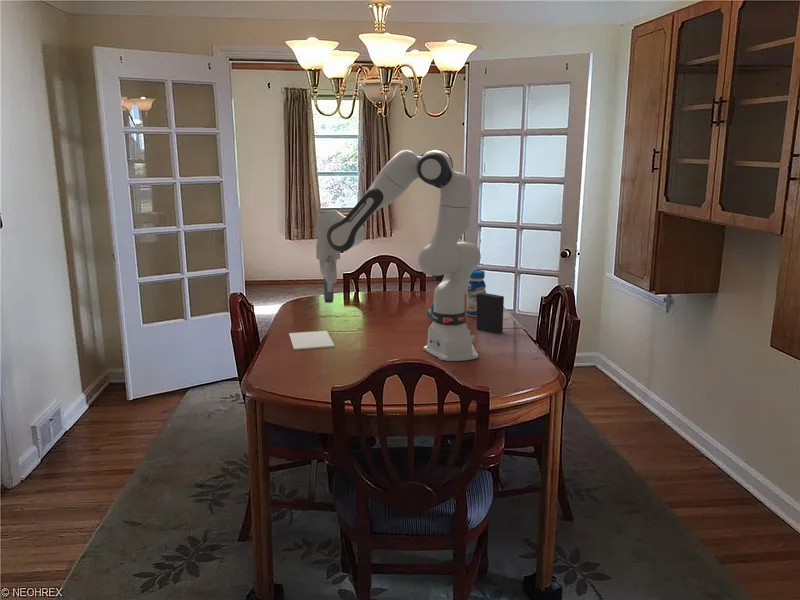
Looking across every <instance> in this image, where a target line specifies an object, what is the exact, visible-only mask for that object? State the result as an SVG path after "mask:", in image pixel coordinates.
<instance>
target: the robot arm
mask: <svg viewBox="0 0 800 600" xmlns="http://www.w3.org/2000/svg"><path fill="white" fill-rule="evenodd" d="M416 179H421V181H423V182H424V183H426V184H428V185H430V186H433V187H435V188H437V189H440V190H439V191H440V199H439V205H438V206H439V208H438V215H437V221H436V222H437V223H436V227H435V230H434V232H433V234H432V236H431V238H430V240H429V241H428V243H427V244H426V246H424V247H423V248H422V249H421V251H420V252H419V255H418V259H417V260H418V266H419V269H420V270H421V272H422V273H423V274H424V275H429V276H437V277H438V276H443V278H442V280H441V282H440V283H439V284H438V285H437V286H436V287H435V289H434V291H433V295H434V296H433V303H434V310H433V314H432V320H433V321H432V320H431V321H432V323H431V324H430V325H429V327H428V331H427V333H428V334H427V344H426V345H424V346H423V351H425V352H427V353H428V354H430V355H432V356H434V357H435V356H436V357H435V358H437V357H438V358H437V359H439V360H441V361H444V360H445V361H446V362H459V361H469V360H476V359H478V358H480V357H479V353H478V351H477V350H476V348H475V346H474V345H473V343H475V341H476V337H475V335H471V333H472V331H471V329H469V327H468V324H467V323H466V322H467V313H466V310H465V301H466V300H465V299H466V291H467V285H468V282H469V281H470V276H471V274H472V272H473V271H474V270H476V269H477V267H478V266H479V265H480V262H481V258H482V257H481V255H482V254H481V251H480V248H479V247H478V245H476V243H473V242H467V241H459V240H460V239H461V237H462V236H463V235H464V234H465V233H466V232H467V231H468V229H469V227H470V222H471V221H470V220H471V212H472V210H471V209H472V201H473V199H472V198H473V190H472V186H473V185H472V180H471V178H470V177H469V175H467V174H466V173H463V172H460V171H459V172H457V171H455V170H454V162H453V159H452V157H451V155H450V154H449V153H447V152H446V151H444V150H443V149H433V150H429V151H427V152H426V153H423V154H421V155H417V154H416V153H414V151H412V150H408V149H402V150H399V151H398V152H397V153H396V154H395V155H394V156H393V157H391V159H390V160H389V161H387V163H386V164H385V165H384V167H382V169H381V170H380V171H379V172H378V174H377V175H376V177H375V179H374V180H373V181H372V183H371V184H370V186H369V188H368V189H367V191H366V192H365V193H364V194H363V197H361V199H360V200H358V202H357V203H356V204H355V206H354V207H353V208H352V209H351V210H350V211H349V213H348V214H346V216H345V215H343V214H342V213H341V212H340V211H339V210H337V209H331V210H330V209H329V210H323V211H320V212H319V213H318V214H317V217H316V222H315V223H316V224H315V235H316V236H315V237H316V241H317V242H316V243H315V244H316V245H315V247H316V248H315V253H316V257H315V258H316V260H319V269H320V273H321V275H322V276H323V279H324V278H325V280H326V282H327V291H328V292H332V286H333V285H334V284H336V283H338V281H337V280H338V275H337V274H338V273H337V272H338V270H337V263H338V260H339V259H340V260H341V253H342V252H347V251H348V250H350V249H351V248H354V247H356V246H358V245H360V244H362V243H363V241H364V240H365V238H366V234H367V233H366V228H365V226H364V225H365V223H366V222H367V221H368V220H369V219H370V217H371V216H372V215H373V214H375V213H376V212H378V210H380V209H382V208H384V207H386V206H387V205H390V204H392V203H394V202H395V201H397V200H398V199H399V198H400V197H401V196H403V194H404V193H405V192H406V191H407V190H408V188H409V187H410V186H411V184H412V183H413V182H414V181H416ZM331 270H333V271H331Z"/></svg>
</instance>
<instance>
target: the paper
mask: <svg viewBox="0 0 800 600" xmlns="http://www.w3.org/2000/svg"><path fill="white" fill-rule="evenodd" d="M288 336H289V338H290V341H291V346H292V349H293V350H294V351H299V350H301V351H302V350H311V349H312V350H313V349H324V348H325V349H326V348H335V345H336V344H335V343H334V342H333V340H332V338H331V336H330V335H329V332H328V331H327V330H321V331H320V330H318V331H303V332H289V333H288Z"/></svg>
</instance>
